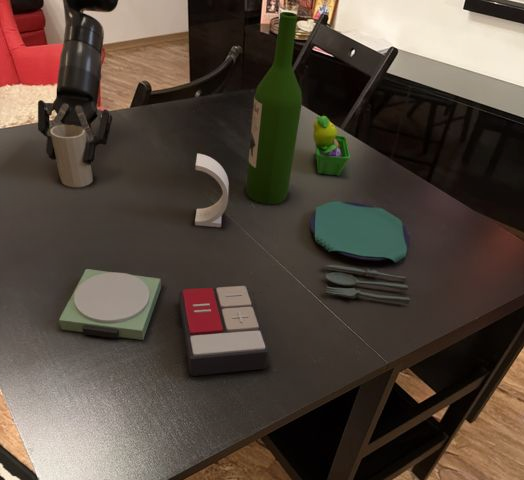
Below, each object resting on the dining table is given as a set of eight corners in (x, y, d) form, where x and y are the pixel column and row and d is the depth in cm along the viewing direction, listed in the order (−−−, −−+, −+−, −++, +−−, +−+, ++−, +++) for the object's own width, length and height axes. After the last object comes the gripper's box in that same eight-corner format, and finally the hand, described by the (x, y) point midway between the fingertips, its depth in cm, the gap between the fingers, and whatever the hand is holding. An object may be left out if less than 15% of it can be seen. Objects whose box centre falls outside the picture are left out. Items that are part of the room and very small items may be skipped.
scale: (59, 333, 69) (56, 320, 68) (88, 278, 78) (85, 265, 76) (142, 343, 70) (140, 331, 68) (161, 288, 78) (160, 275, 77)
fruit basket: (345, 179, 111) (357, 130, 103) (307, 174, 111) (317, 125, 102) (340, 156, 119) (352, 109, 111) (305, 152, 118) (314, 104, 110)
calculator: (248, 282, 76) (270, 347, 66) (246, 303, 79) (267, 369, 69) (178, 286, 74) (190, 354, 63) (179, 308, 77) (190, 376, 66)
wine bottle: (240, 184, 104) (255, 5, 81) (279, 181, 107) (304, 7, 83) (252, 206, 99) (272, 20, 75) (292, 203, 101) (323, 23, 78)
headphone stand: (196, 212, 95) (197, 153, 86) (227, 215, 96) (230, 156, 87) (194, 225, 92) (195, 165, 83) (226, 227, 92) (230, 168, 84)
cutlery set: (401, 217, 102) (405, 208, 100) (419, 311, 82) (423, 301, 80) (309, 203, 102) (311, 194, 100) (303, 294, 81) (306, 283, 80)
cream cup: (56, 185, 96) (45, 135, 89) (67, 170, 100) (57, 121, 93) (87, 189, 96) (78, 139, 89) (96, 174, 101) (89, 126, 93)
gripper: (34, 58, 89) (23, 148, 90) (111, 69, 90) (100, 159, 90) (50, 79, 97) (41, 162, 97) (121, 89, 97) (112, 172, 98)
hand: (69, 160), depth 94 cm, fingers closed on cream cup, 6 cm apart
